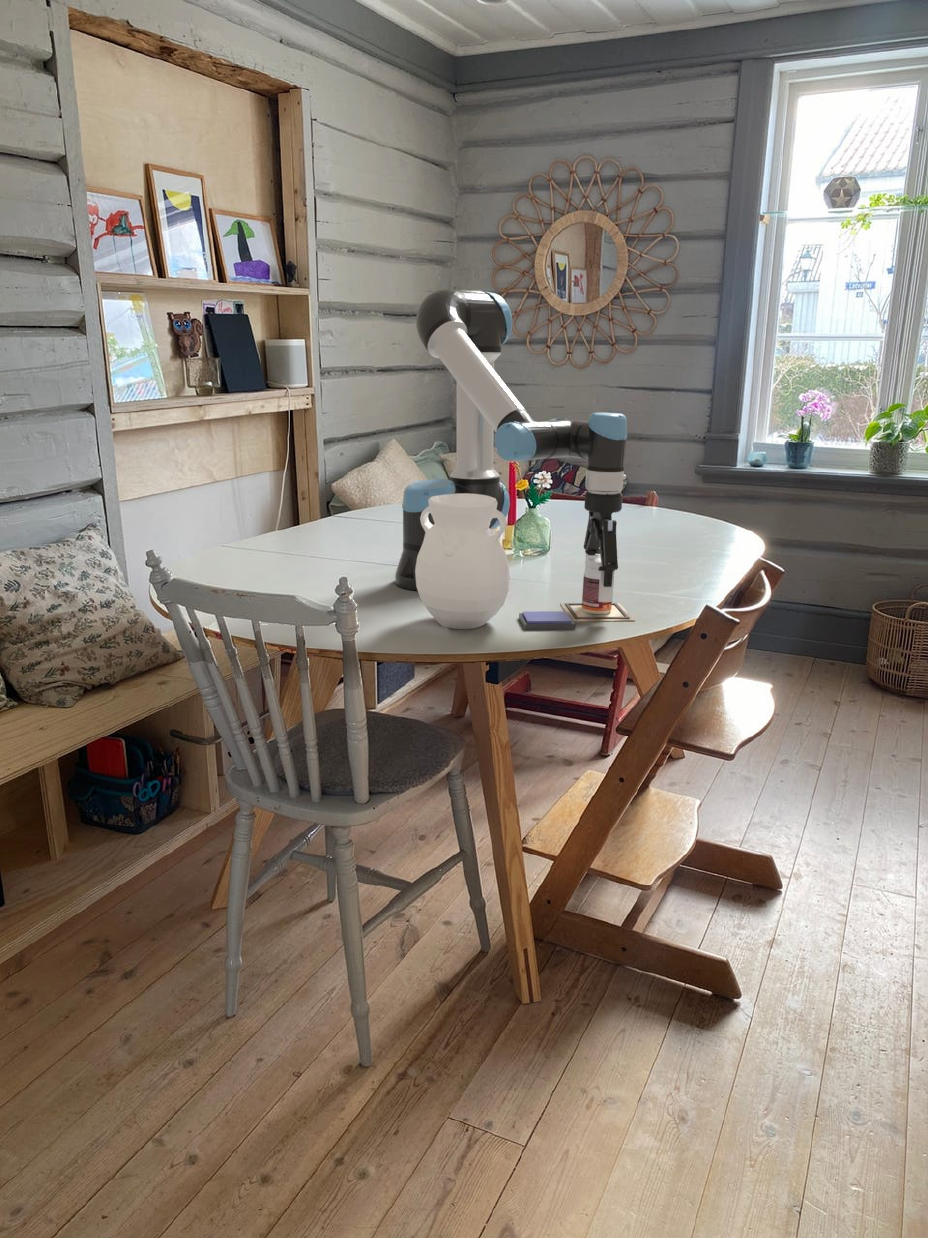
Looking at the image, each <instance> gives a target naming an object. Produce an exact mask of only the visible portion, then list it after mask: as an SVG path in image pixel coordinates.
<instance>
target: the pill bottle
mask: <svg viewBox="0 0 928 1238" xmlns="http://www.w3.org/2000/svg"><path fill="white" fill-rule="evenodd" d="M608 564H610V563H608ZM588 566H589V568H588V569H586V570H585V569H584V571H583V581H582V595H581V597H582V598H581V599H582V600H581V603H582V610H583V611H584V612H586V613H589V614H607V613H609V612H610V611H611V606H612V603H613V601H612V602H599V601H598V597H599V581H600V571H599V570H598V569H599V567H600V566H602V564H601V557H599V558H589V559H588Z"/></svg>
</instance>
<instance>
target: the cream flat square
mask: <svg viewBox="0 0 928 1238" xmlns="http://www.w3.org/2000/svg"><path fill="white" fill-rule="evenodd" d="M559 605H560V607H562V610H564V611H565V612H566V613H568V614H569V616H570V617H571V619H572V620H573V621H574V622H635V621H636V619H635V618H634V617H633V616H632V615H631V614H630V613H629V612H628V611H627V609H626V608H625V607H624V606H623V605H622V604H621V603H620V602H612V606H611V611H610V612H609V613H607V614H589V613H586V612H584V611H583V610H582V602H577V603H576V602H565V603H561V602H560V604H559Z"/></svg>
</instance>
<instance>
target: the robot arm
mask: <svg viewBox="0 0 928 1238" xmlns="http://www.w3.org/2000/svg"><path fill="white" fill-rule="evenodd" d="M415 326H416V331H417V336H418V337H419V339H420V342H421V343H422V345H423V347H424V348H425V350H426V351H427V352H428V353H429V355H430V356H431V357H433V358H436V359H439V360H440V361H441V362H442V363H443V365H444V366H445V368H446V369H447V370H448V372H449V373H450V374H451V375H452V377H453V378H454V379H455V382H456V468H455V469H454V470H453V471H452V472H451V473H450V474H449V475H450V476H449V479H445V478H434V479H424V480H419V481H415V482H413V483H410V484H409V485H407V486H406V487H405V489H404V491H403V498H402V506H401V507H402V525H403V526H402V552H401V556H400V559H399V562H398V565H397V566H396V567H397V568H396V571H395V575H394V577H395V580H394V581H395V582H394V583H395V585H396V586H397V587H400V588H404V589H406V590H413V591H418V590H417V587H416V575H415V568H416V561H417V556H418V554H419V551H420V549H421V546H422V544H423V541H424V537H425V530H424V529H423V527H422V525H421V521H420V517H421V514H422V512H423V511H424V510H425V509H426V508H427V507H428V506H429V503H428V500H429V498H431V497H432V496H438V495H446V494H463V493H469V494H480V495H487V496H490V497H493V498H495V499H496V500H497V502H498V503H497V510H498V511H500V512H501V513H502V514H503V515H504V516H505V517H506V518H507V516H508V514H509V510H510V505H511V504H510V503H511V502H510V499H511V498H510V494H509V492H508V491H507V487H506V486H505V484H503V483H502V482H501V481H500V479H501V478H500V477H501V476H500V474H499V473H498V471H496V469H495V467H494V446H495V448H496V453H497V454H498V456H499V457H500V458H502V460H505V461H507V462H527V461H533V460H536V461H537V460H542V459H543V460H547V459H558V458H559V459H561V458H576V459H583V460H586V469H585V482H584V483H585V485H584V486H585V489H586V491H585V493H584V509H585V511H587V512H588V520H587V527H586V531H585V537H584V541H583V549H584V550H585V551H584V552H585V561H584V571H585V570H586V569H588V568H589V566H588V559H589V558H601V564H602V566H600V567H599V569H598V570H599V571H600V581H599V597H598V601H599V602H612V603H613V597H614V596H613V595H614V583H615V581H614V580H615V571H617V570H618V569H619V563H618V561H619V560H618V546H617V545H618V544H617V523H618V522H617V520H616V519H615V520H614V519H612V514H613V513H615V514H616V513H619V512H621V510H622V508H623V507H622V506H623V494H622V492H621V491H622V490H623V488H624V480H626V478H627V475H626V474H624V473H625V472H624V471H625V459H626V458H625V457H626V448H627V439H628V431H627V429H628V420H627V417H626V415H624V414H623V413H619V412H604V411H603V412H593V413H591V414H590V415H589V420H588V421H585V420H577V419H569V418H565V417H564V418H552V419H549V420H539V421H538V420H537V421H536V420H535V419H534V418H533V417H532V416H531V415H530V413H529V412H528V411H527V409H526V407H524V405H523V404H522V403H521V402H520V401H519V399H518V398H517V397H516V396H515V394H514V393H513V392H512V390H511V389H510V388H509V387H508V385H507V384H506V383H505V381H504V380H503V379H502V378H501V376H500V374H498V373H497V371H496V370H495V362H496V360H497V359H498V358H499V357H500V356H501V355H502V345H504V344H505V343H506V342H507V341H508V340H509V339H510V338H509V337H510V336H511V335H512V330H513V315H512V312H511V309H510V307H509V304H508V303H507V302H506V301H505V299H504V298H503V297H502V296H501V295H499V294H497V293H495V292H490V291H486V290H470V289H469V290H468V289H451V288H442V289H437V290H435V291H433V292H431V293H430V294H428V295H427V296H426V297H425V298H424V299H423V300H422V301H421V303H420V305H419V307H418V309H417V313H416V317H415ZM494 432H495V435H494ZM428 519H429V522H430V523H431V524H432V525H434V524H435V523H434V520H433V517H432V515H431V513H429V514H428ZM498 527H500V522H499V520H498V519H497V518H492V520H491V522H490V526H489V528H490V530H491V531H492V530H494V529H496V528H498ZM608 563H610V564H608Z"/></svg>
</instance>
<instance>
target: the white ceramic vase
mask: <svg viewBox="0 0 928 1238" xmlns="http://www.w3.org/2000/svg"><path fill="white" fill-rule="evenodd" d="M428 503H429V506H428V507H427V508H426V509H425V510H424V511H423V512H422V514H421V517H420V521H421V525H422V527H423V529H424V530H425V537H424V541H423V544H422V546H421V549H420V551H419V554H418V556H417V561H416V568H415V575H416V587H417V590H416V591H417V592H418V596H419V598H420V602H421V603H422V604H423V606H425V608H426V610H427V612H428V613H429V614H430V615H431V616H432V617H433V618H434V620H436V621H437V623H439V625H440V626H442V627H444V628H449V629H452V630H455V629H456V630H470V629H478V628H480V627H482V626H484V625H485V624H487V623H488V622H489V621H490V620H491V619H493V618H494V616H495V615H497V613H498V612H499V611H500V610H501V609H502V607H503V606H504V604H505V601H506V598H507V596H508V594H509V591H510V580H511V575H510V566H509V560H508V557H507V554H506V551H505V548H504V546H503V545H502V543H501V541H500V538H501V536H502V535H503V533H504V532H505V530H506V529H507V525H508V522H507V521H508V520H507V517H505V516H504V515H503V514H502V513H501V512H500V511H498V510H497V503H498V502H497V500H496V499H495V498H493V497H490V496H487V495H480V494H469V493H463V494H446V495H438V496H432V497H431V498H429V500H428ZM429 513H431V515H432V517H433V520H434V523H435V524H434V525H432V524H431V523H430V522H429V519H428V514H429ZM492 518H497V519H498V520H499V522H500V526H499V529H498V530H497V531H494V532H493V530H492V529H491V530H490V528H489V526H490V522H491V520H492Z"/></svg>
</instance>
